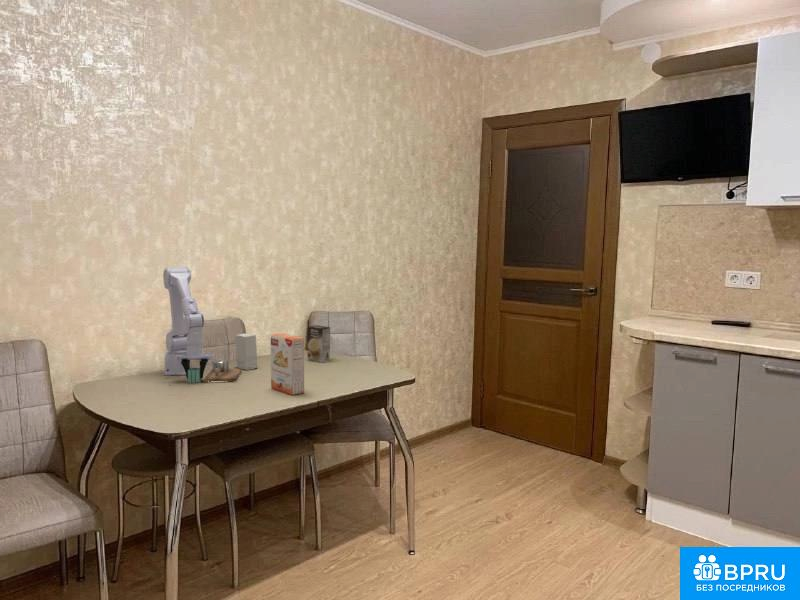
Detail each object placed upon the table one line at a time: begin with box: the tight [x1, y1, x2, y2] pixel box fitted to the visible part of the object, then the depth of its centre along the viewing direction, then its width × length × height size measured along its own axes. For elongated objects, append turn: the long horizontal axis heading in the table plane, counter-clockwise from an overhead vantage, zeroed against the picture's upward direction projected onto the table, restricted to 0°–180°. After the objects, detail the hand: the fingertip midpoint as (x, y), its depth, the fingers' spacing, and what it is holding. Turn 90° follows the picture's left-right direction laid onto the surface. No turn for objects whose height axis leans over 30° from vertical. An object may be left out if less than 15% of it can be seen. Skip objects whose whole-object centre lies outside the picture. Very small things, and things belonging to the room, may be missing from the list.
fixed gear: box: [212, 358, 230, 372], centre depth 260 cm, size 6×6×5 cm
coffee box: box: [306, 324, 331, 364], centre depth 291 cm, size 9×6×16 cm
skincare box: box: [235, 333, 258, 371], centre depth 273 cm, size 8×6×15 cm
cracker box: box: [270, 333, 305, 396], centre depth 234 cm, size 14×6×21 cm, turn 45°
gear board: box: [203, 368, 243, 383], centre depth 255 cm, size 12×18×4 cm, turn 7°
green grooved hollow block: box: [187, 366, 203, 384], centre depth 247 cm, size 4×6×5 cm
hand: (195, 377), depth 247 cm, fingers closed on green grooved hollow block, 4 cm apart
